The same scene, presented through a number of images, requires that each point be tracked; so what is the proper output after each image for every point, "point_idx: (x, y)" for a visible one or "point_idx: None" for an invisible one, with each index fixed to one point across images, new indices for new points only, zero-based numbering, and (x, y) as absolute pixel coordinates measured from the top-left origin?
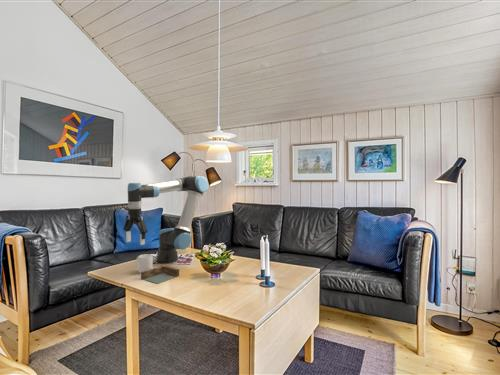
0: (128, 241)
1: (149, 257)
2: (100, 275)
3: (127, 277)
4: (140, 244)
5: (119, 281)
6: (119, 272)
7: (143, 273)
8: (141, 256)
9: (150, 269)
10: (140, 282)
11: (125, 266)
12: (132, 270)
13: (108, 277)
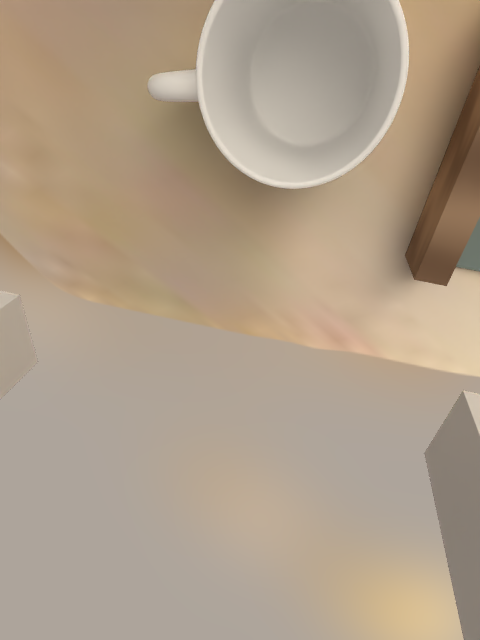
0: (25, 344)
1: (398, 106)
2: (96, 301)
3: (280, 268)
4: (433, 460)
5: (294, 340)
6: (131, 206)
7: (445, 280)
8: (207, 76)
9: (462, 181)
10: (451, 313)
11: (7, 44)
12: (168, 112)
13: (170, 311)
